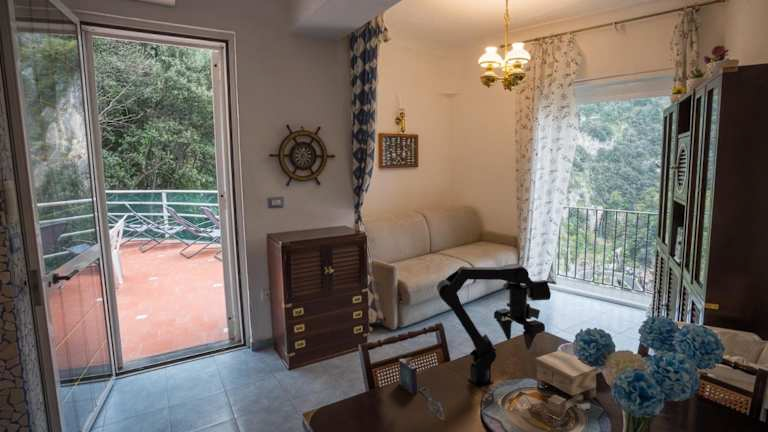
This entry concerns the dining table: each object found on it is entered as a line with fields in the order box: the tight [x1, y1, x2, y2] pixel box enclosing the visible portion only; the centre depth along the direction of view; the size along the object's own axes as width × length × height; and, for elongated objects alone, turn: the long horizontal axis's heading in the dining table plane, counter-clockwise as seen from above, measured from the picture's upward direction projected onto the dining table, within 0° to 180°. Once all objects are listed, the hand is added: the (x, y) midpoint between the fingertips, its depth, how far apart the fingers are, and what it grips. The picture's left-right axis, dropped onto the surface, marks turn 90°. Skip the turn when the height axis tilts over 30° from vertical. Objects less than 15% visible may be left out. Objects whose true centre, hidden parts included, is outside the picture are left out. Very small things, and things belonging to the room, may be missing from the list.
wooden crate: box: [534, 350, 598, 400], centre depth 133 cm, size 12×15×10 cm
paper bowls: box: [557, 342, 603, 375], centre depth 146 cm, size 15×15×8 cm
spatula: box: [547, 393, 584, 419], centre depth 125 cm, size 16×4×5 cm, turn 128°
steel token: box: [575, 399, 591, 410], centre depth 125 cm, size 4×4×1 cm
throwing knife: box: [418, 386, 446, 422], centre depth 130 cm, size 4×20×1 cm, turn 14°
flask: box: [398, 357, 419, 395], centre depth 140 cm, size 9×3×11 cm, turn 30°
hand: (518, 344), depth 142 cm, fingers open, 9 cm apart
